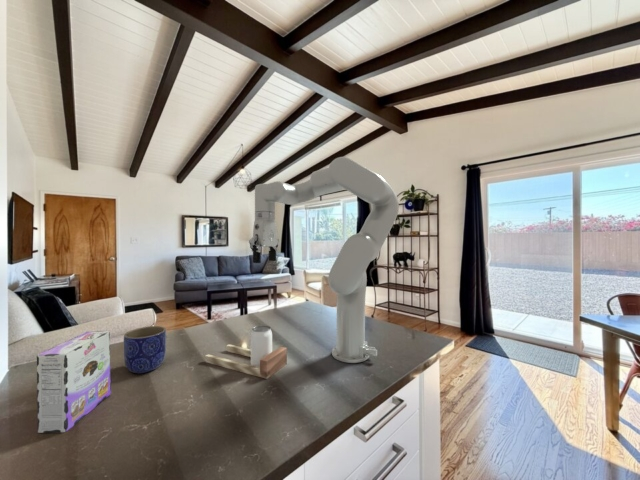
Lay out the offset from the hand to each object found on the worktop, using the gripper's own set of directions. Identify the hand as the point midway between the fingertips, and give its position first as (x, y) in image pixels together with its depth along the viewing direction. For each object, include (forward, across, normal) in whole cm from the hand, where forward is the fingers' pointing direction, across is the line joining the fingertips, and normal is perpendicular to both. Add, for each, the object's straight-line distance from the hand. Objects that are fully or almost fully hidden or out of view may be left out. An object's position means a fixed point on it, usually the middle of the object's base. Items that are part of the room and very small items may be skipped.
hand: (264, 261), depth 107 cm
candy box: (+31, -54, +12) cm, 63 cm away
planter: (+31, -34, +19) cm, 49 cm away
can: (+31, -18, -12) cm, 38 cm away
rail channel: (+30, -18, -6) cm, 36 cm away
